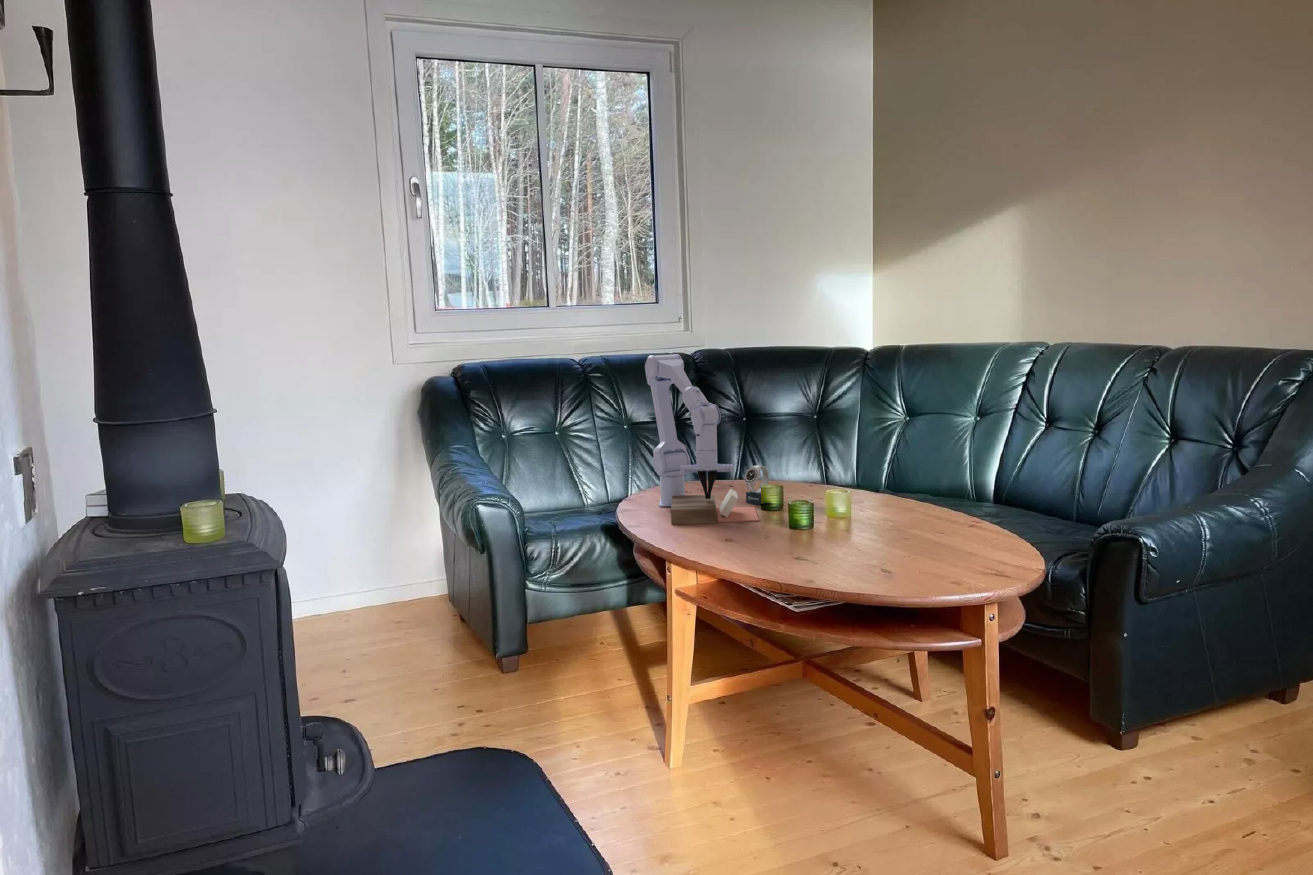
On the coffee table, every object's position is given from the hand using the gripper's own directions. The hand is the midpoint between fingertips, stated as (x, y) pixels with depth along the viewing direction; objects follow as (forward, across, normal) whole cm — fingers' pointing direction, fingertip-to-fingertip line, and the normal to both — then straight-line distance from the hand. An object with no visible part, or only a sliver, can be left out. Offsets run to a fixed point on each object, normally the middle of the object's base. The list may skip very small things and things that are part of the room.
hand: (707, 498), depth 232 cm
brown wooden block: (+5, -4, 0) cm, 6 cm away
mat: (+5, +8, 0) cm, 9 cm away
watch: (+5, +15, +15) cm, 22 cm away
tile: (+1, +5, 0) cm, 5 cm away
